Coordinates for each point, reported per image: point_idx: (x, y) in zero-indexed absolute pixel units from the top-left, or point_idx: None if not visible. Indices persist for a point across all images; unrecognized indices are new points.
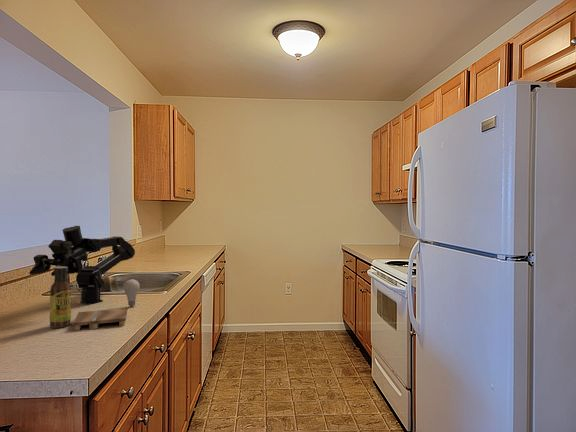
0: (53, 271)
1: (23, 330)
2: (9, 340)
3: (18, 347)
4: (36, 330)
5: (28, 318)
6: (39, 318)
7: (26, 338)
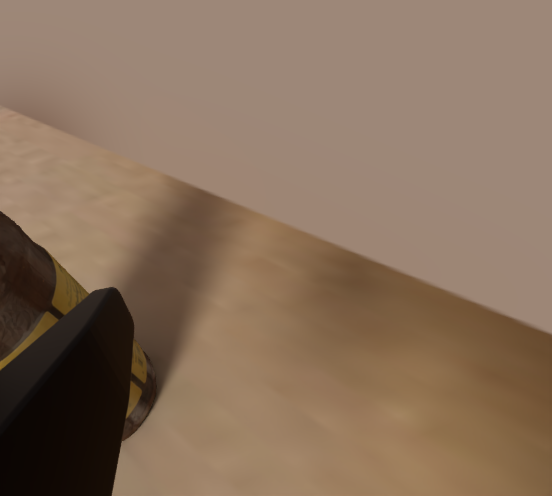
0: (79, 310)
1: (241, 276)
2: (179, 194)
3: (89, 177)
4: (179, 300)
5: (473, 437)
6: (396, 471)
7: (134, 228)
